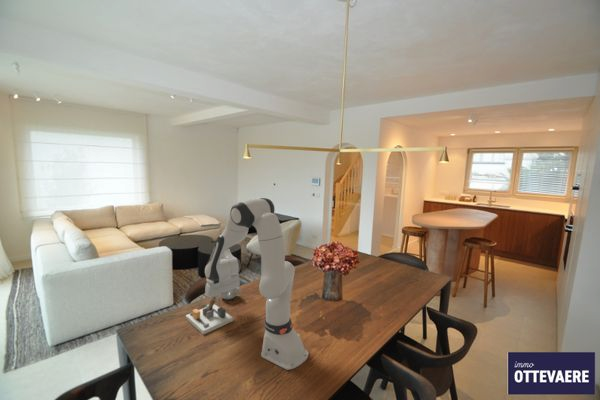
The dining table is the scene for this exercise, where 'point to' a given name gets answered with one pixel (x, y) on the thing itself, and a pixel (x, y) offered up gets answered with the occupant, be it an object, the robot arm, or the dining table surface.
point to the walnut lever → (211, 304)
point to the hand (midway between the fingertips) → (223, 299)
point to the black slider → (221, 312)
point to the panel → (209, 320)
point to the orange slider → (196, 313)
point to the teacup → (233, 294)
